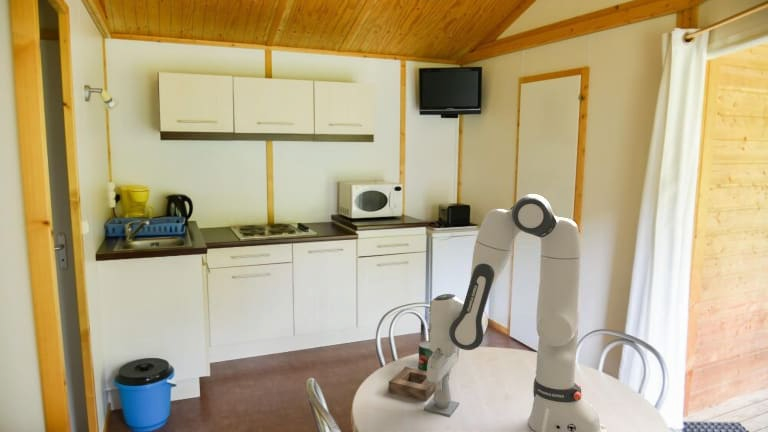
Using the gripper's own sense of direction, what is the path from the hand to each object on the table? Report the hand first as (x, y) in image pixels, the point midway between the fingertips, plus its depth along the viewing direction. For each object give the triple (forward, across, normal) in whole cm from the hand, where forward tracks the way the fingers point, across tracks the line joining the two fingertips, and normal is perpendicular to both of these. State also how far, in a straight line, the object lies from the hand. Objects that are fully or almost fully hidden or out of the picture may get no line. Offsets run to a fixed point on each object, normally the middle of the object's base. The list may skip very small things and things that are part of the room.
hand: (442, 385), depth 164 cm
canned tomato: (+8, +23, +14) cm, 28 cm away
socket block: (+8, +8, +13) cm, 17 cm away
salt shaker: (+7, 0, 0) cm, 7 cm away
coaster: (+8, 0, 0) cm, 8 cm away
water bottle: (+8, +36, +15) cm, 40 cm away
